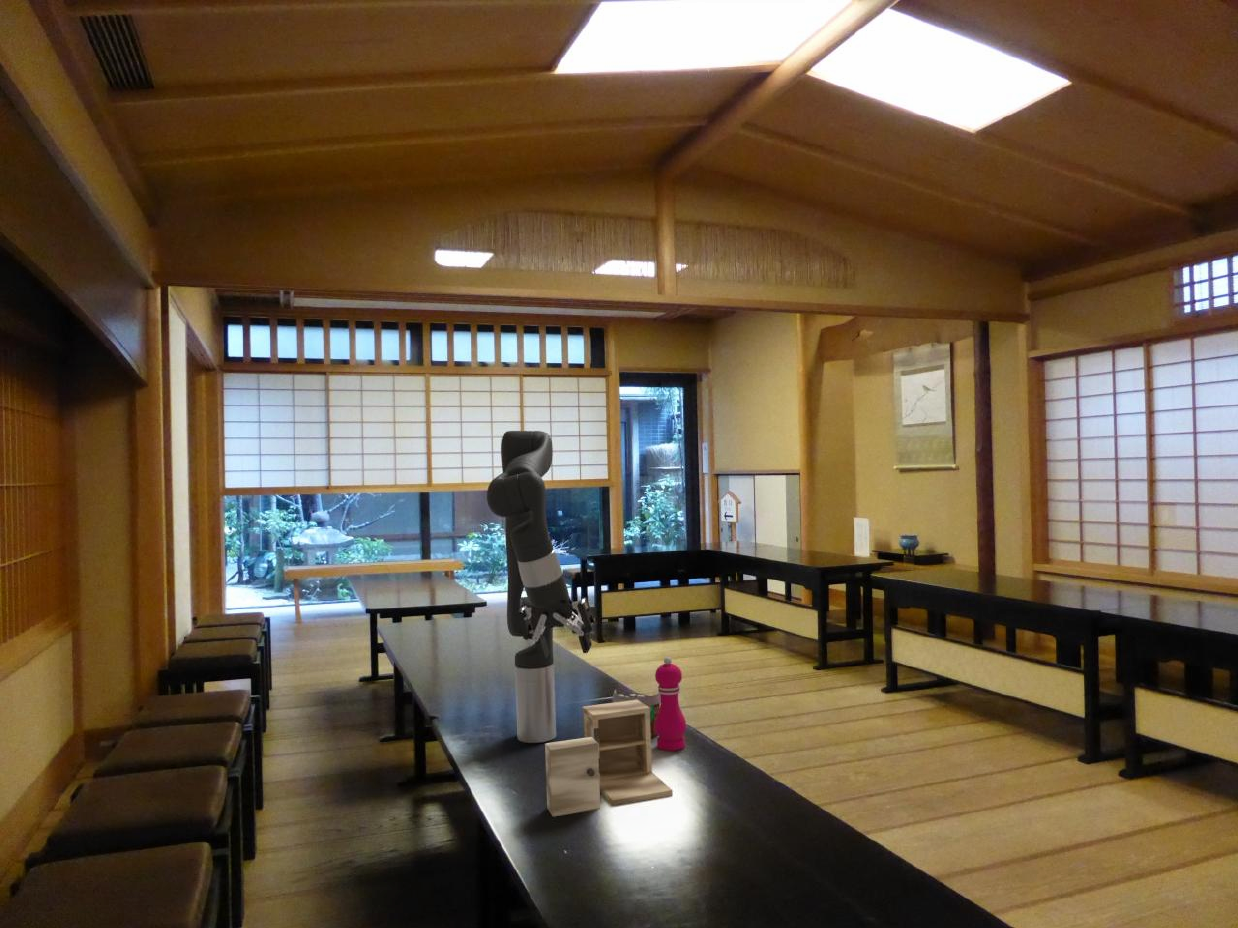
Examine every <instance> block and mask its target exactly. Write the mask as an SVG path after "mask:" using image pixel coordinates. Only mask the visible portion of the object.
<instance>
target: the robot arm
mask: <svg viewBox="0 0 1238 928" xmlns="http://www.w3.org/2000/svg"><path fill="white" fill-rule="evenodd" d="M553 450H554V447H553V442H552V437H551V436H550V435H549V434H548V433H547V432H546V431H540V430H508V431H505V433H504V434H503V435H502V437H501V442H500V458H501V469H502V473H501V474H499V475H497V476H496V477H495V478H493V479H492V480H491V481H490V483H489V484H488V488H487V491H486V501H487V505H488V508H489V509H490V511H491V512H492V513H493V514H494V515H496V516H498V517H500V518H505V519H504V521H505V522H504V524H505V525H504V527H505V528H504V535H505V536H504V537H505V555H506V556H505V557H506V567H507V590H506V591H507V596H506V597H507V599H506V625H507V630H508V633H509V634H510V635H511V636H512V637H519V638H520V637H521V638H523V639H524V640H526V641H528V640H531V641H533V642H534V643H533V644H531V645H530V646H528V647H526V648H524V649H521V650H519V651H517V652H516V653H515V655H514V677H515V678H514V679H515V704H516V705H515V707H516V709H515V710H516V734H517V739H516V740H518V741H519V742H521V743H528V744H536V743H537V744H539V743H545V742H548V741H552V740H554V739H556V737H557V717H556V716H557V714H556V689H555V688H556V686H555V663H554V636H553V635H554V634H553V633H554V631H553V630H554V628H555V627H556V628H563V627H566V628H567V629H569V630H571V631H573V632H574V633H576V635H578V640H579V644H580V647H581V650H582V653H583V654H588V653H589V651H590V649H591V647H592V645H593V643H592V640H591V637H590V634H589V633H592V631H593V629H594V627H595V626H596V621H595V620H596V619H595V616H594V615H593V612H592V609H591V606H590V604H589V601H588V599H587V598H586V597H582V598H581V599H580V600H577V601H573V600H572V599H571V598H570V594H569V591H568V590H569V589H568V587H567V586H568V585H567V583H566V579H565V577H564V574H563V571H562V567H561V563H560V560H559V558H558V556H557V553H556V552H555V548H554V546H553V542H552V539H551V536H550V532H549V529H548V523H547V511H546V493H547V491H546V485H545V482H544V480H543V477H544V476H545V475H546V474H547V473H548V472H549V470H550V469H551V467H552V462H553V453H554V451H553ZM524 590H525V593H526V596H524V597H523V596H522V595H523V591H524ZM574 610H575V611H576V612H577V613H578V614H579V615H580V616H578V615H577V614H576V613H575V612H574ZM580 618H581V619H580Z"/></svg>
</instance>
